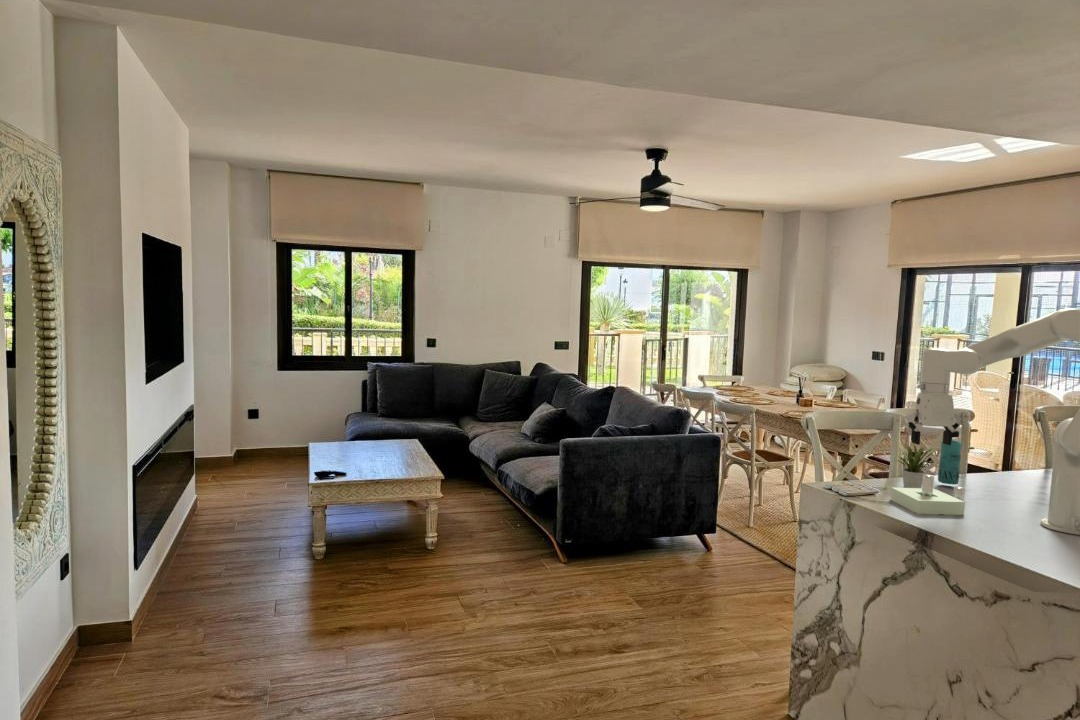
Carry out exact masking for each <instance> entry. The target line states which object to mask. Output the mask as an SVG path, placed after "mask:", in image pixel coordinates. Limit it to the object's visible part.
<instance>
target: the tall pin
mask: <svg viewBox="0 0 1080 720" xmlns="http://www.w3.org/2000/svg"><path fill="white" fill-rule="evenodd" d="M934 481H935V475H931V474H926V473H925V474H923V481H922V487H921V488H922V494H921V495H922V496H928V497H933V489H934V485H935V482H934Z"/></svg>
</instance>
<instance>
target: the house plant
mask: <svg viewBox="0 0 1080 720" xmlns="http://www.w3.org/2000/svg"><path fill="white" fill-rule="evenodd" d="M893 446H895V447H896V448H898V450H900V451H901V452H902V454H903V455H904V457H905V458H906V459H907V460H906V459H904V458H903V457H901V456H899V455H897V457H898V458H899V459H900V460H899V459H896V460H895V461H896V462H899V463H901V464H902V465H903V466H904V467H905V468H902V469H901V473H902V483H903V488H922V481H923V474H926V471H925V470H923V469H927V467H929V466H930V464H932V462H937V460H935V459H934V460H933V459H932V460H926V459H927V458H929V457H930V456H931V455H934V453H937V452H936V451H934V450H935V449H938V450H939V449H940V447H933V448H930V449H928V450H926V451H925V445H922V446H921V447H920V448H919V449H917V445H916V444H914V443H912V446H913V449H912V448H911V447H910V446H909V444H908V443H906V445H905V446H906V449H907V452H906V451H905V450H903V449H901V448H900V447H898V446H896V445H894V444H893ZM924 451H925V452H924ZM932 451H933V452H932ZM913 452H914V453H913ZM923 452H924V453H923ZM929 452H931V453H929ZM928 453H929V454H928ZM922 454H923V455H922ZM927 454H928V455H927ZM926 455H927V456H926ZM925 456H926V457H925ZM922 459H923V460H922ZM902 461H903V462H902ZM926 466H927V467H926Z"/></svg>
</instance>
